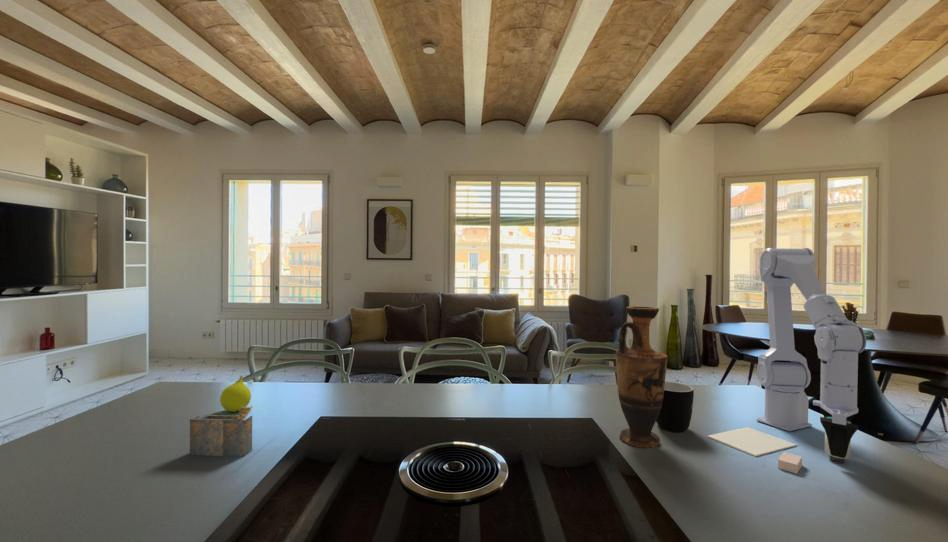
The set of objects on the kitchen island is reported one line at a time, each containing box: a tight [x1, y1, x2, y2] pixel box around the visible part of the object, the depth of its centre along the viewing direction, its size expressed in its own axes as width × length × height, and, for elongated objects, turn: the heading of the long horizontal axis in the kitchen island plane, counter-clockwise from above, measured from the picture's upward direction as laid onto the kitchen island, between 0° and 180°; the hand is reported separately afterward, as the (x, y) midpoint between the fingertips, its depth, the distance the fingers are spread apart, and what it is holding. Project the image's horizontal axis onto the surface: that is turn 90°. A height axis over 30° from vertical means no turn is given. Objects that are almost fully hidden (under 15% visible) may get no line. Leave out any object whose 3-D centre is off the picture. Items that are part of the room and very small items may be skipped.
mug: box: [655, 381, 695, 434], centre depth 105 cm, size 12×9×10 cm
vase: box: [615, 305, 669, 448], centre depth 96 cm, size 11×11×30 cm
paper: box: [706, 426, 798, 457], centre depth 96 cm, size 14×11×1 cm
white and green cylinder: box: [824, 417, 852, 464], centre depth 87 cm, size 4×4×8 cm
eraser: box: [777, 451, 803, 474], centre depth 84 cm, size 5×3×2 cm, turn 134°
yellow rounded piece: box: [219, 375, 252, 413], centre depth 112 cm, size 7×7×10 cm
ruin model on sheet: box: [189, 405, 253, 457], centre depth 87 cm, size 11×3×10 cm, turn 88°
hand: (837, 449), depth 87 cm, fingers open, 7 cm apart
